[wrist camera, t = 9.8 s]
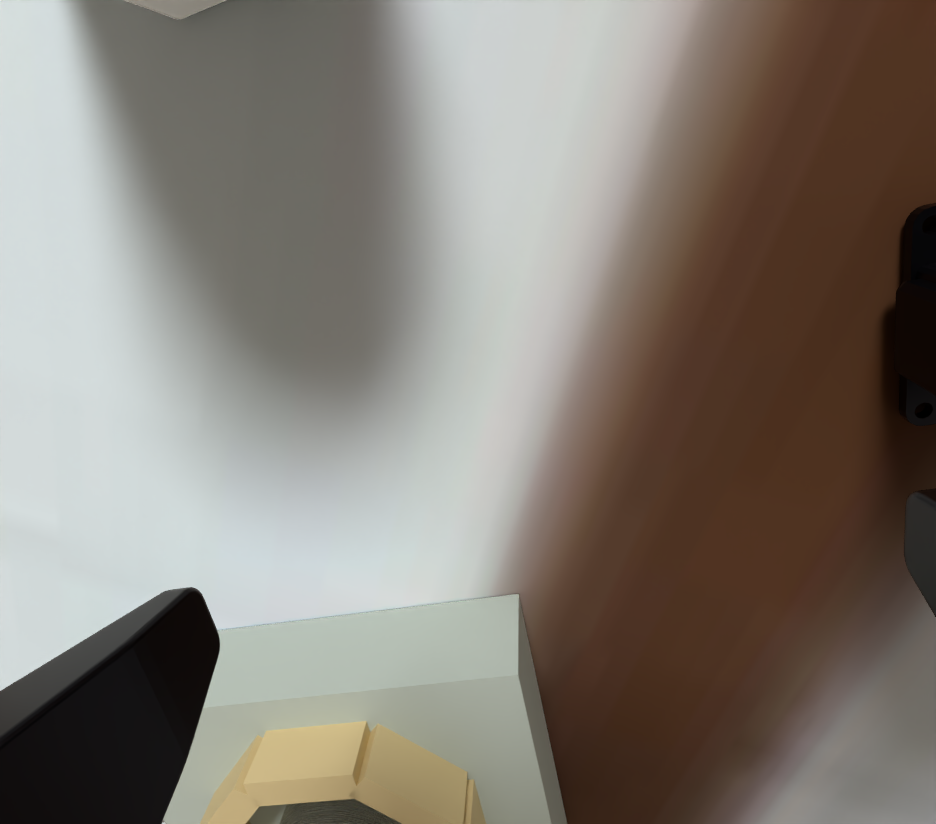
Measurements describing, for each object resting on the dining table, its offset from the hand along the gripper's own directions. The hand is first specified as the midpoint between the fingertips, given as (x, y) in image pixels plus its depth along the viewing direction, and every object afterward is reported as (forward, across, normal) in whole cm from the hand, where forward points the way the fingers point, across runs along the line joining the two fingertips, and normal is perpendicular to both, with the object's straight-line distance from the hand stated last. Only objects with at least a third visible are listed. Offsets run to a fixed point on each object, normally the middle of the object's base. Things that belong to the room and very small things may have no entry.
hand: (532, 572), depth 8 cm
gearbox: (+13, +10, +16) cm, 23 cm away
